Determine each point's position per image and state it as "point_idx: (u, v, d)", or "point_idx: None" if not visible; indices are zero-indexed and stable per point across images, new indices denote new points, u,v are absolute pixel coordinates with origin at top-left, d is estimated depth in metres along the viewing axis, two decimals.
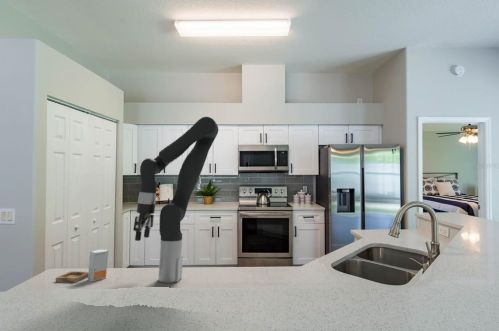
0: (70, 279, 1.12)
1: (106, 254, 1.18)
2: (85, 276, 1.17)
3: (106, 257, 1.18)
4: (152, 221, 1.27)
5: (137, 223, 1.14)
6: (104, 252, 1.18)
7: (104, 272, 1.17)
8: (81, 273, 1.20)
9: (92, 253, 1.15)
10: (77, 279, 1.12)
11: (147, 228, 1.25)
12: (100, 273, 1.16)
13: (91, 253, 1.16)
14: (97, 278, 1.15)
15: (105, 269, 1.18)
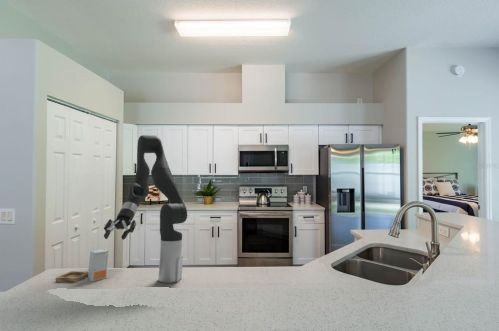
0: (70, 279, 1.12)
1: (106, 254, 1.18)
2: (85, 276, 1.17)
3: (106, 257, 1.18)
4: (131, 225, 1.34)
5: None
6: (104, 252, 1.18)
7: (104, 272, 1.17)
8: (81, 273, 1.20)
9: (92, 253, 1.15)
10: (77, 279, 1.12)
11: None
12: (100, 273, 1.16)
13: (91, 253, 1.16)
14: (97, 278, 1.15)
15: (105, 269, 1.18)
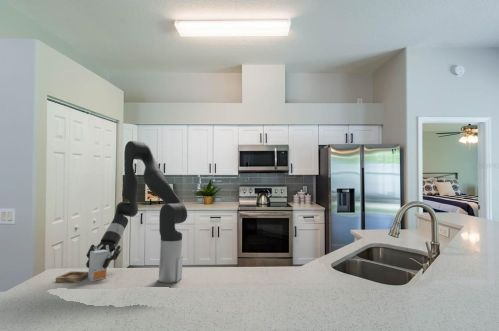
0: (70, 279, 1.12)
1: (106, 254, 1.18)
2: (85, 276, 1.17)
3: (106, 257, 1.18)
4: (115, 251, 1.20)
5: None
6: (104, 252, 1.18)
7: (104, 272, 1.17)
8: (81, 273, 1.20)
9: (92, 253, 1.15)
10: (77, 279, 1.12)
11: None
12: (100, 273, 1.16)
13: (91, 253, 1.16)
14: (97, 278, 1.15)
15: (105, 269, 1.18)
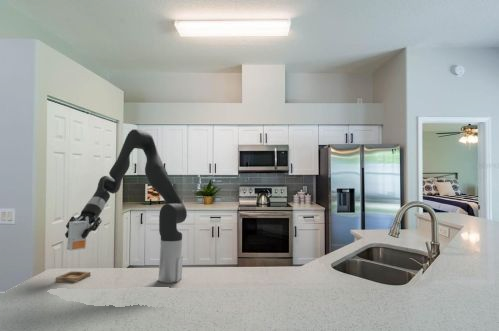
0: (70, 279, 1.12)
1: (85, 225, 1.19)
2: (85, 276, 1.17)
3: (85, 228, 1.19)
4: (94, 222, 1.21)
5: None
6: (83, 222, 1.19)
7: (83, 242, 1.18)
8: (81, 273, 1.20)
9: (71, 223, 1.16)
10: (77, 279, 1.12)
11: None
12: (79, 243, 1.17)
13: (70, 223, 1.17)
14: (76, 248, 1.16)
15: (84, 239, 1.19)
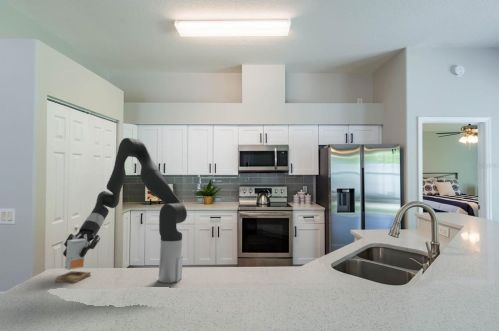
0: (70, 279, 1.12)
1: (84, 243, 1.18)
2: (85, 276, 1.17)
3: (84, 246, 1.18)
4: (93, 240, 1.20)
5: None
6: (81, 241, 1.18)
7: (81, 261, 1.17)
8: (81, 273, 1.20)
9: (69, 242, 1.15)
10: (77, 279, 1.12)
11: None
12: (77, 262, 1.16)
13: (68, 242, 1.16)
14: (74, 266, 1.15)
15: (82, 258, 1.18)
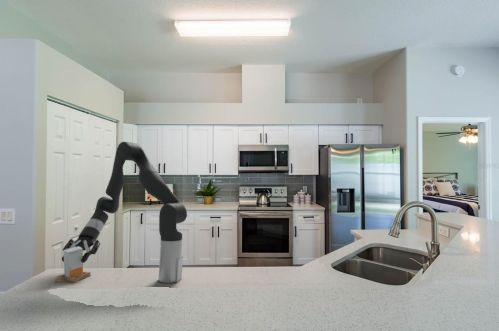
0: (70, 279, 1.12)
1: (80, 252, 1.16)
2: (85, 276, 1.17)
3: (81, 254, 1.17)
4: (93, 245, 1.20)
5: None
6: (78, 250, 1.16)
7: (80, 269, 1.17)
8: None
9: (65, 252, 1.13)
10: (77, 279, 1.12)
11: None
12: (76, 270, 1.15)
13: (64, 252, 1.14)
14: (73, 275, 1.15)
15: (81, 266, 1.17)
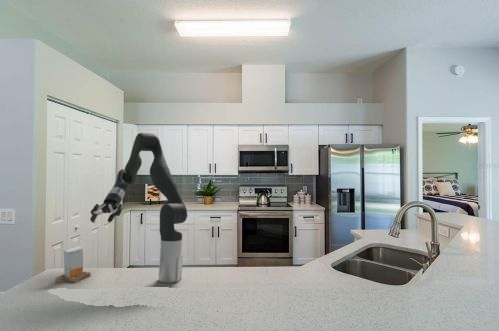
0: (70, 279, 1.12)
1: (81, 252, 1.16)
2: (85, 276, 1.17)
3: (81, 255, 1.17)
4: (118, 208, 1.34)
5: None
6: (78, 250, 1.16)
7: (80, 269, 1.17)
8: None
9: (65, 252, 1.13)
10: (77, 279, 1.12)
11: None
12: (76, 270, 1.15)
13: (65, 252, 1.14)
14: (73, 275, 1.15)
15: (81, 266, 1.17)
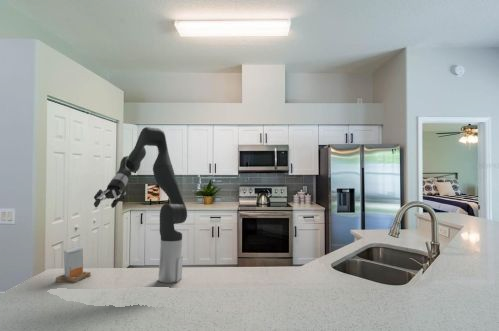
0: (70, 279, 1.12)
1: (81, 252, 1.16)
2: (85, 276, 1.17)
3: (81, 255, 1.17)
4: (121, 194, 1.35)
5: None
6: (78, 250, 1.16)
7: (80, 269, 1.17)
8: None
9: (65, 252, 1.13)
10: (77, 279, 1.12)
11: None
12: (76, 270, 1.15)
13: (65, 252, 1.14)
14: (73, 275, 1.15)
15: (81, 266, 1.17)
